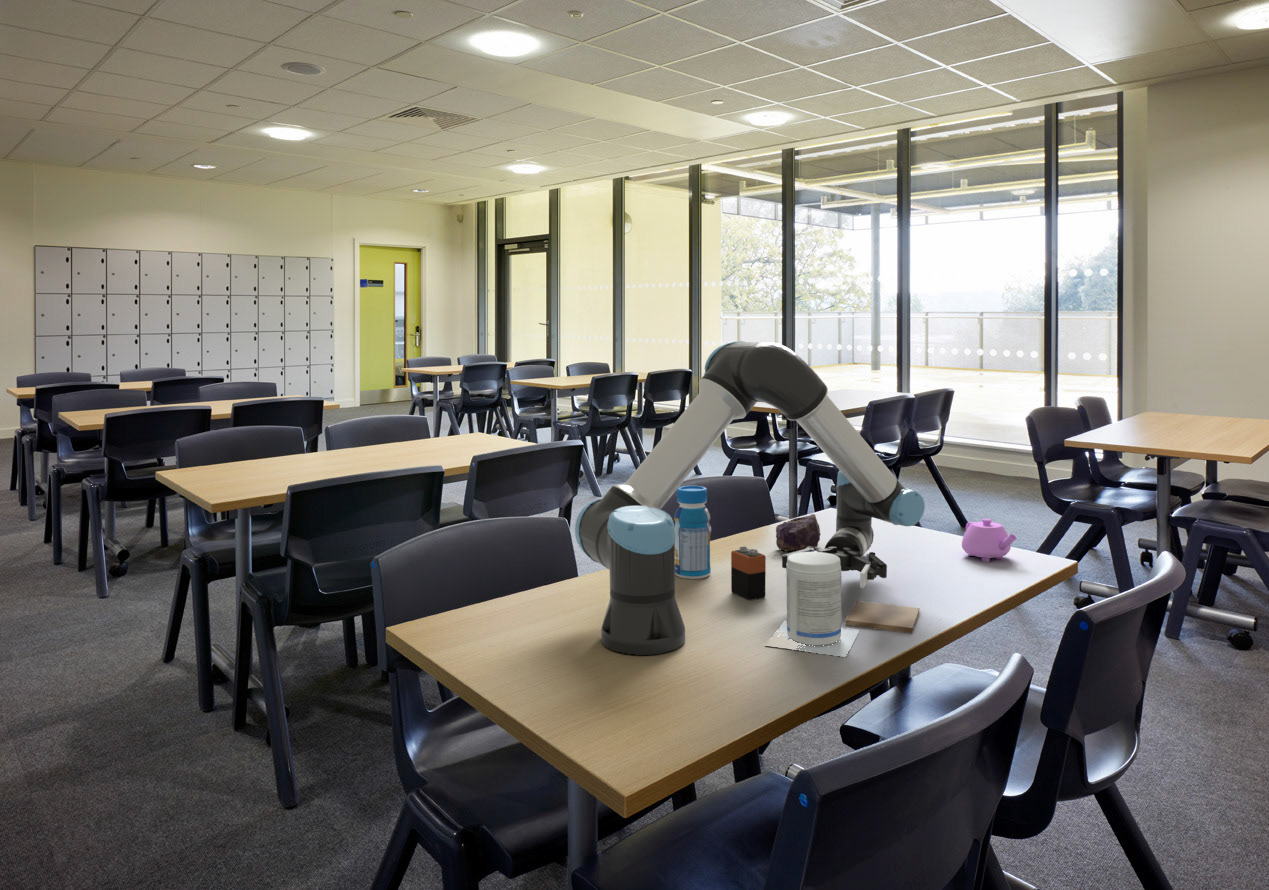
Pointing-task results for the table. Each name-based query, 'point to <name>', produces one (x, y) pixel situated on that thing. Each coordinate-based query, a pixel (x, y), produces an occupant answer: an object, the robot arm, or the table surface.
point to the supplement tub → (814, 598)
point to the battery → (748, 573)
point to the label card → (834, 649)
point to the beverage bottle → (692, 533)
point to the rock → (798, 533)
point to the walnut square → (883, 616)
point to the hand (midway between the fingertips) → (825, 576)
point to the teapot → (986, 540)
